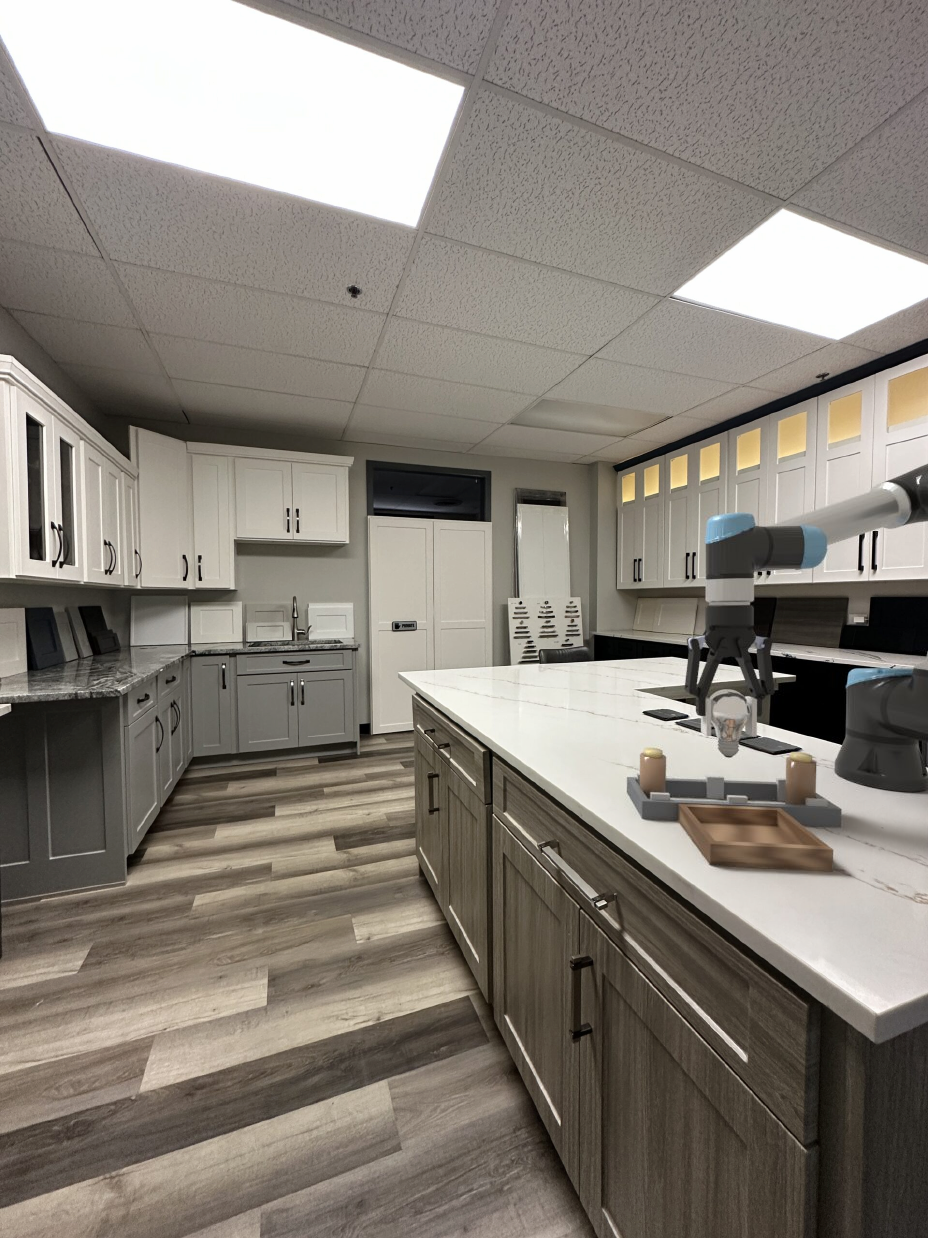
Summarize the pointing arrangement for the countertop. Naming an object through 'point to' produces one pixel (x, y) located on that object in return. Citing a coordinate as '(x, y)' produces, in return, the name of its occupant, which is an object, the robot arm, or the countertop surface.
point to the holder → (730, 799)
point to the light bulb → (729, 719)
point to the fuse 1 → (652, 771)
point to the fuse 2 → (800, 778)
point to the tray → (753, 838)
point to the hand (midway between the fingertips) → (728, 734)
